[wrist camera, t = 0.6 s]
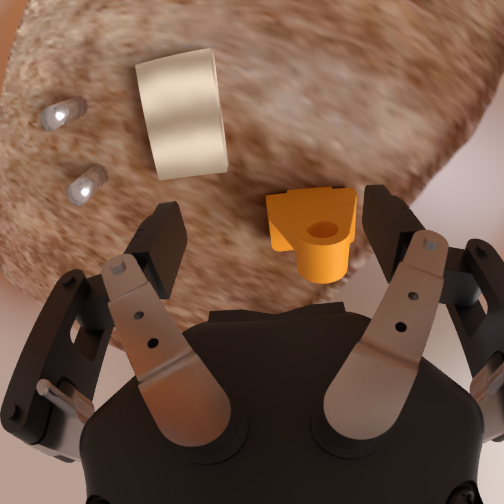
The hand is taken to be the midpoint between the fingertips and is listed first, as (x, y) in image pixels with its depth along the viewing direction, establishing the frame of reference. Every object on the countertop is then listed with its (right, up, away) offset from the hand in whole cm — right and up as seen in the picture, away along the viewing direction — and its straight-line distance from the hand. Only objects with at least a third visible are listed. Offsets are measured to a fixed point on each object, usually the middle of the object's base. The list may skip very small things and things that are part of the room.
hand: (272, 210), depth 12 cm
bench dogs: (-22, +13, +18) cm, 31 cm away
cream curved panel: (-8, +14, +17) cm, 24 cm away
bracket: (+7, +3, +25) cm, 26 cm away
